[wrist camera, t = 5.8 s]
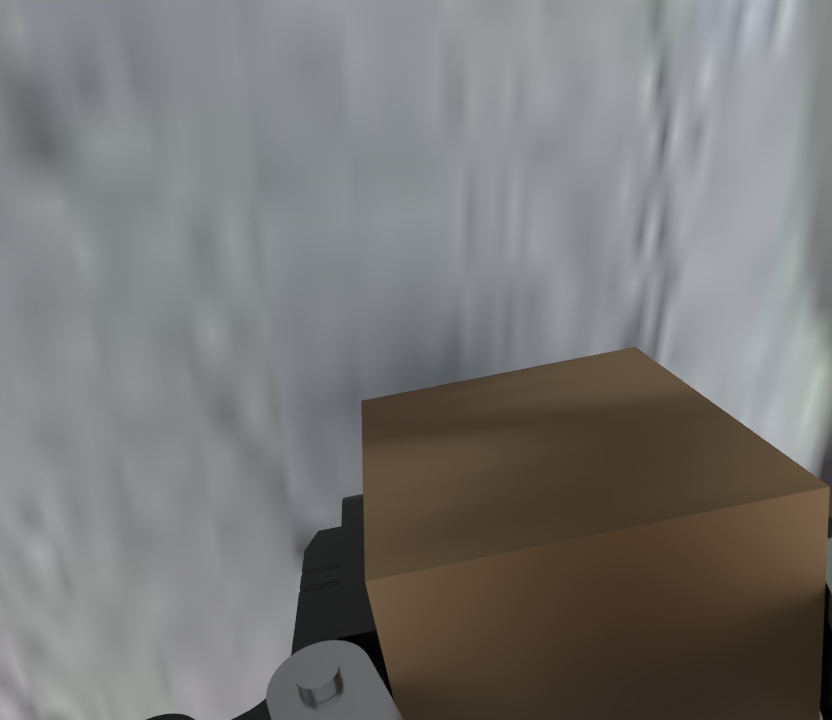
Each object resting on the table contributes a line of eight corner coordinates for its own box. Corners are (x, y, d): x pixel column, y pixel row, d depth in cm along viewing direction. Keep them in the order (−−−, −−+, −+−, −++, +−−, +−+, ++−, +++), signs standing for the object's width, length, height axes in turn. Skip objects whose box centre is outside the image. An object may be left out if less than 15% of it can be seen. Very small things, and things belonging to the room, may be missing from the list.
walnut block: (411, 624, 13) (442, 898, 8) (361, 401, 11) (364, 580, 7) (649, 575, 13) (815, 816, 8) (635, 347, 11) (828, 486, 7)
